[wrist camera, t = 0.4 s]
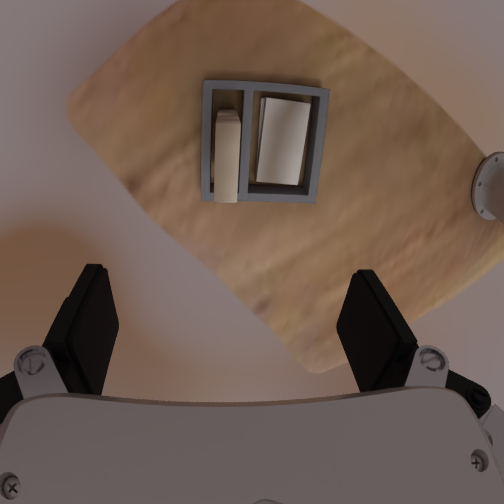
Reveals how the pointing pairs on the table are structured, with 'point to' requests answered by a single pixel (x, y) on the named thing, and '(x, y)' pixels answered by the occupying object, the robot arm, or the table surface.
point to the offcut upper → (282, 141)
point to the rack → (244, 190)
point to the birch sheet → (226, 156)
